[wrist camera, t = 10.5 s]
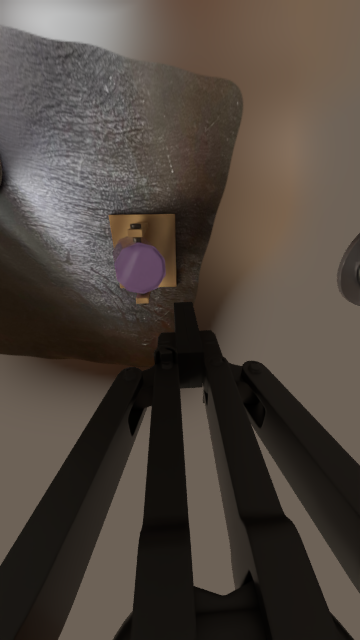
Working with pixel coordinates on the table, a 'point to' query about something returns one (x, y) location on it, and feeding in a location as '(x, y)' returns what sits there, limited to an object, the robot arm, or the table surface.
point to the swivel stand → (156, 232)
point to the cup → (138, 264)
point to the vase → (0, 172)
